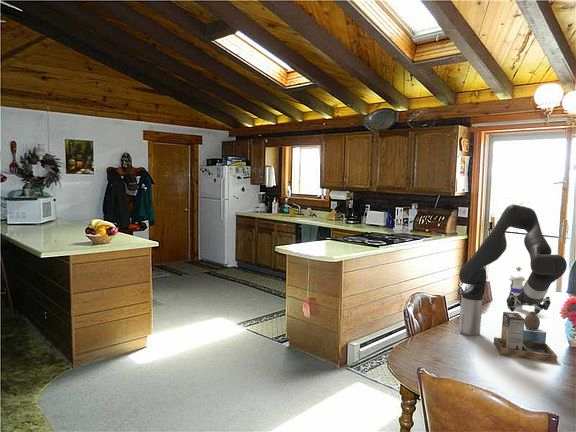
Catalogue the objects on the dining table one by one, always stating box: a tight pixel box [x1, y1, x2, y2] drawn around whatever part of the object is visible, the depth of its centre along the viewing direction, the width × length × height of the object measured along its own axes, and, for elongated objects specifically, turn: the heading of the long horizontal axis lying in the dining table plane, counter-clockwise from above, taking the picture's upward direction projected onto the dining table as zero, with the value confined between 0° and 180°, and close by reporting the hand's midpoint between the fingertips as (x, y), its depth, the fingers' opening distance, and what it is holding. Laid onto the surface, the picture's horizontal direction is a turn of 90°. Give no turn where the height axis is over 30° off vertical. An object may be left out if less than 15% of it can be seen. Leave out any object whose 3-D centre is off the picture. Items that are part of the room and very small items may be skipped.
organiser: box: [493, 329, 558, 364], centre depth 181 cm, size 21×14×8 cm, turn 75°
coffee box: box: [500, 311, 525, 350], centre depth 182 cm, size 9×6×16 cm
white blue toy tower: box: [507, 266, 526, 312], centre depth 248 cm, size 8×9×25 cm
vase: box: [524, 310, 541, 331], centre depth 213 cm, size 7×7×9 cm
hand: (523, 310), depth 168 cm, fingers open, 8 cm apart
